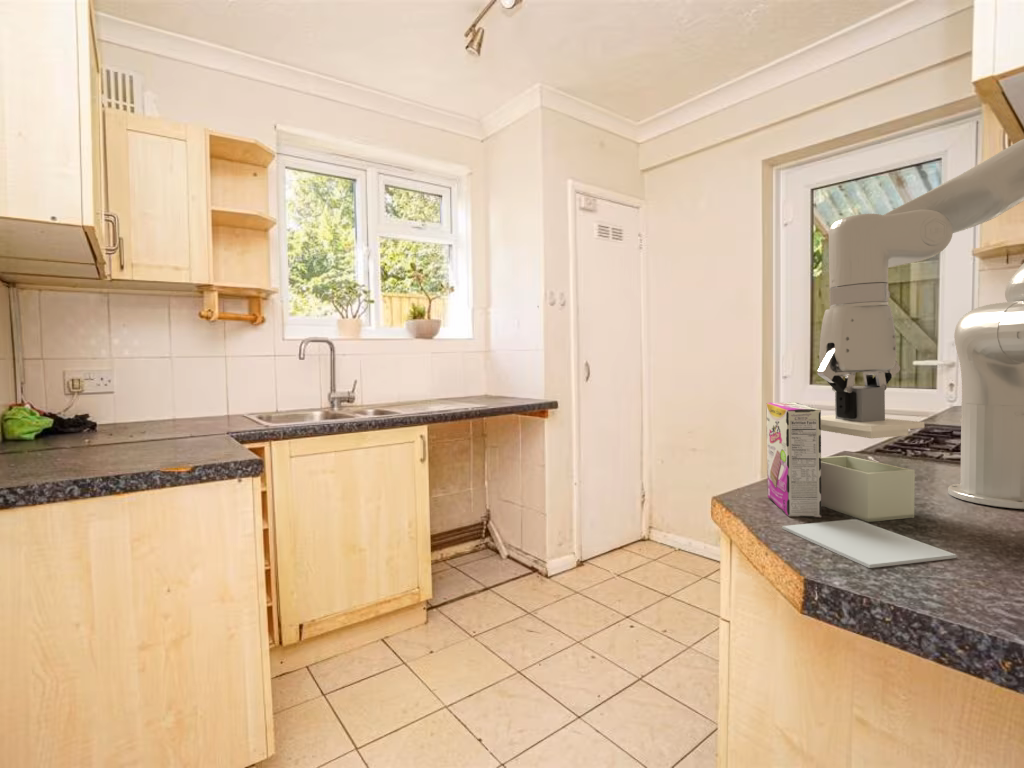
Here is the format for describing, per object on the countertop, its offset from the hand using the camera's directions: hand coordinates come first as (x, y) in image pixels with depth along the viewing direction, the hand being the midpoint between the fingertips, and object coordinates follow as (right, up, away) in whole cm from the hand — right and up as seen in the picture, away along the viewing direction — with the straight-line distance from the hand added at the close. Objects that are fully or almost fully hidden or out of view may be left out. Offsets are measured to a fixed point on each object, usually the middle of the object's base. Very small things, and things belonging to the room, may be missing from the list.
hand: (859, 415), depth 80 cm
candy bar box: (-10, -15, +2) cm, 18 cm away
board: (-9, -15, -14) cm, 23 cm away
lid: (0, -3, 0) cm, 3 cm away
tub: (0, -15, +1) cm, 15 cm away
